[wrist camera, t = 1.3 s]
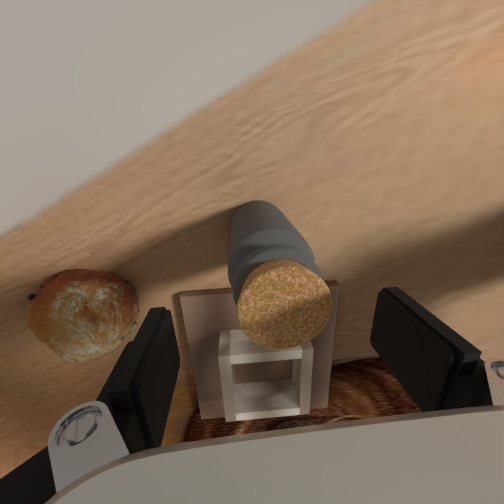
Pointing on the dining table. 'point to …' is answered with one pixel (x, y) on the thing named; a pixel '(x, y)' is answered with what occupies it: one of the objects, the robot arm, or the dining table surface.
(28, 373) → the dining table surface
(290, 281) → the bottle
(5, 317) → the dining table surface
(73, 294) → the bread roll
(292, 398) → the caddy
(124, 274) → the dining table surface
